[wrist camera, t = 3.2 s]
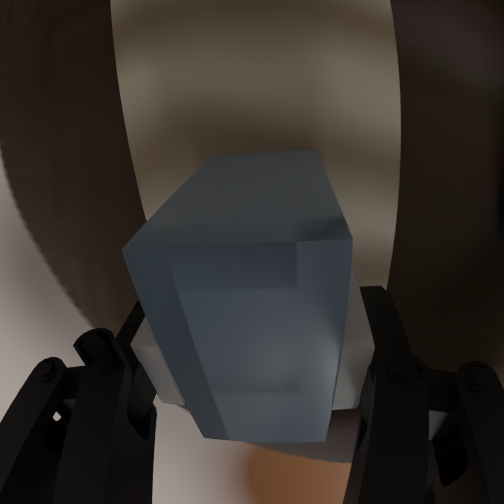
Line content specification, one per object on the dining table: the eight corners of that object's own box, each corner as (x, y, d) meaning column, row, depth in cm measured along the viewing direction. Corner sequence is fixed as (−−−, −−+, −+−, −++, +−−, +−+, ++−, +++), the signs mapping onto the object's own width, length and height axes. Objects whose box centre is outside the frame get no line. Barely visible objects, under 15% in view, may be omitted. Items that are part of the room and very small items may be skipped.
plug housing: (316, 302, 16) (325, 441, 9) (235, 304, 17) (204, 437, 10) (314, 149, 12) (352, 239, 5) (211, 157, 13) (121, 249, 6)
